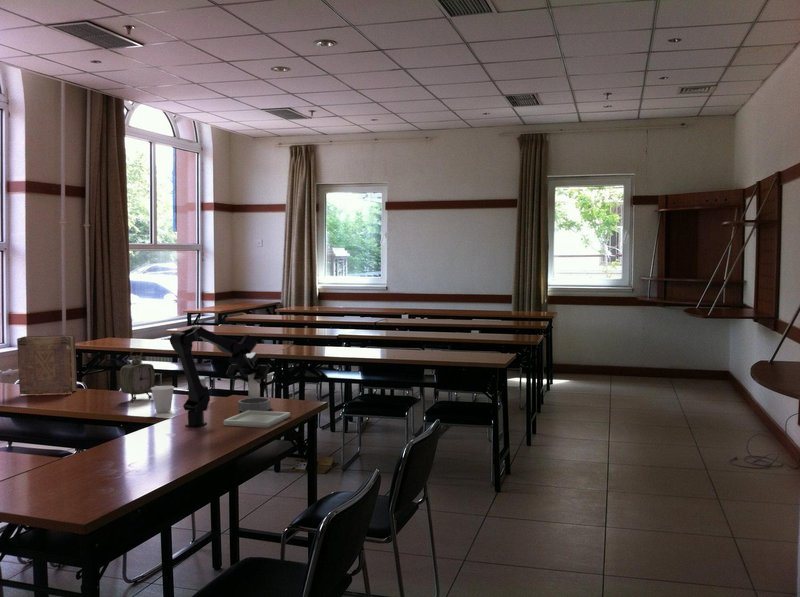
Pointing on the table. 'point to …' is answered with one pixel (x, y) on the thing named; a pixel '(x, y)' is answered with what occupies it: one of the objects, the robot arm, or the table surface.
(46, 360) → the book
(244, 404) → the collar
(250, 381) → the canister
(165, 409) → the cup
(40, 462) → the table surface
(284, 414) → the tray
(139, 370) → the tabletop clock
